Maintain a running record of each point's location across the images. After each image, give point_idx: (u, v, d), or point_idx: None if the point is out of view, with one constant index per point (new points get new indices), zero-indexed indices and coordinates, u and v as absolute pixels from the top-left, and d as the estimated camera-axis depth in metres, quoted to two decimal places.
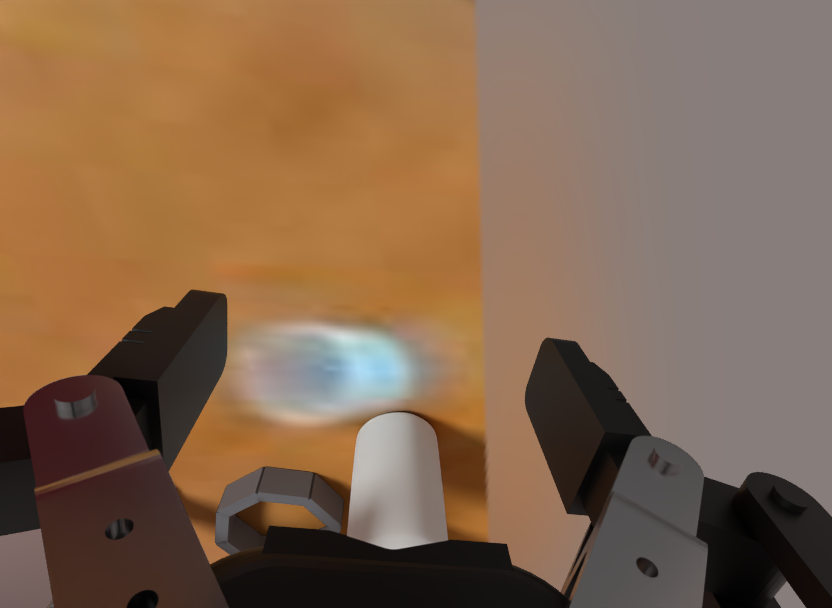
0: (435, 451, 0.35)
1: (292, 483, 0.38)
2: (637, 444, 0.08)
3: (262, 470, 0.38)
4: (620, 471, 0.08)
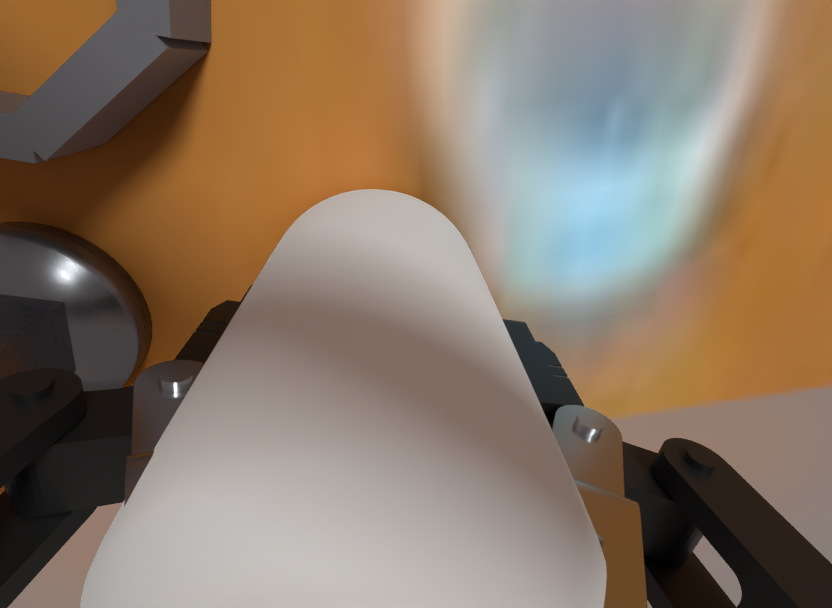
0: None
1: None
2: (560, 415, 0.09)
3: None
4: None
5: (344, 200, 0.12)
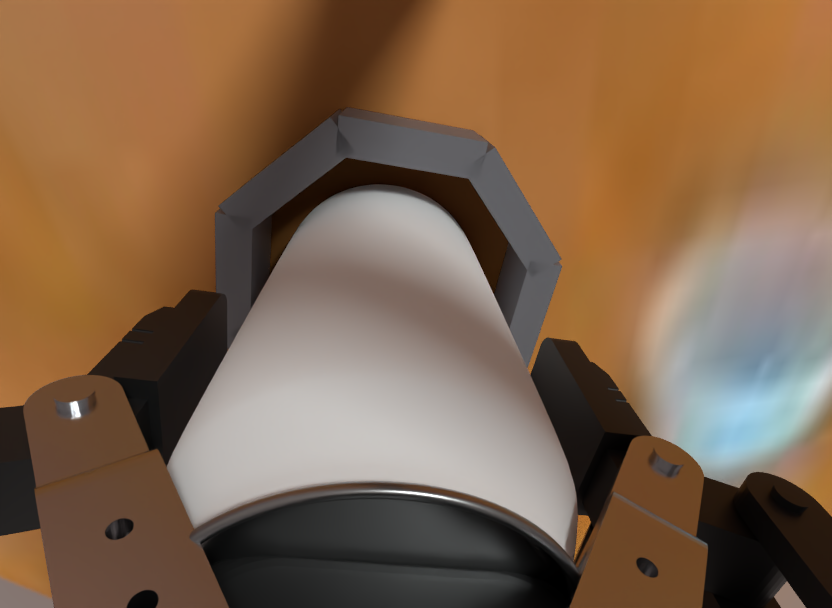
0: None
1: None
2: (636, 444, 0.08)
3: None
4: (620, 471, 0.08)
5: (353, 194, 0.14)
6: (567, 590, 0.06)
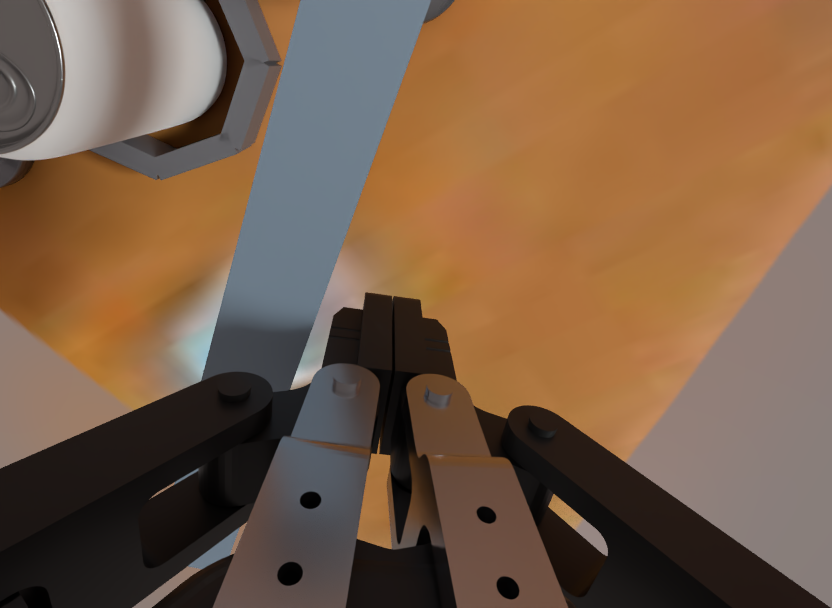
0: None
1: None
2: (412, 390, 0.09)
3: (251, 142, 0.24)
4: (413, 425, 0.08)
5: None
6: None
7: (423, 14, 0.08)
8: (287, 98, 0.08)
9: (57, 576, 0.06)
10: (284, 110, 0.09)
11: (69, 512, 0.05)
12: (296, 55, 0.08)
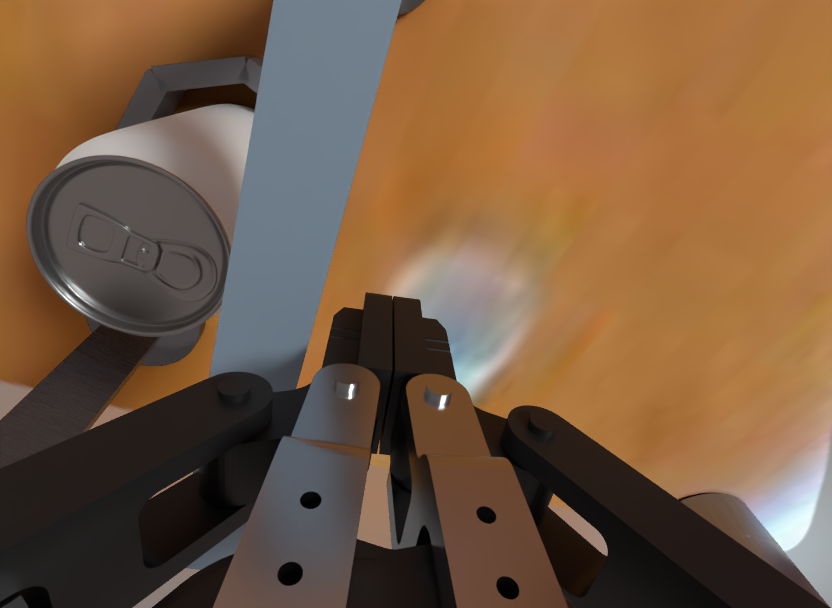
0: None
1: None
2: (411, 390, 0.09)
3: None
4: (413, 425, 0.08)
5: (240, 108, 0.22)
6: None
7: (399, 1, 0.08)
8: (269, 97, 0.08)
9: (57, 576, 0.06)
10: (267, 109, 0.09)
11: (69, 512, 0.05)
12: (274, 52, 0.08)
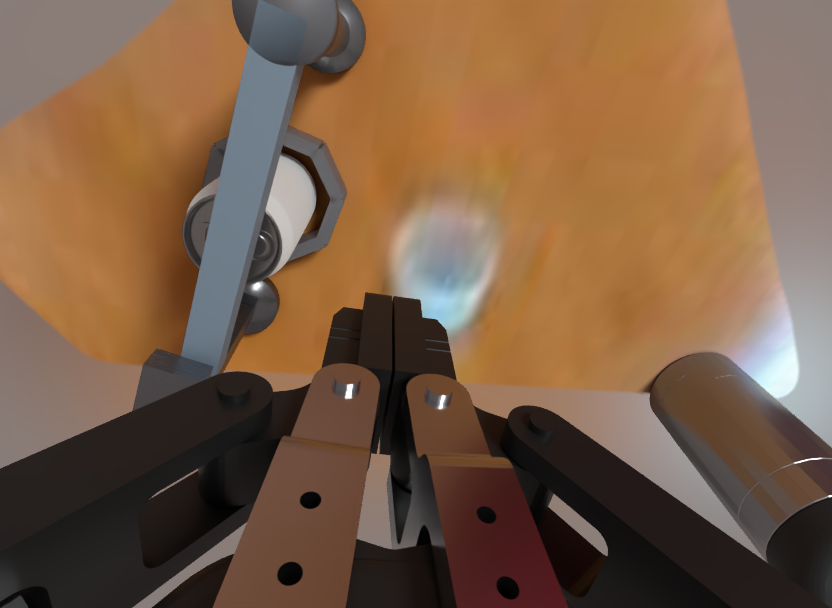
0: None
1: None
2: (412, 390, 0.09)
3: (345, 191, 0.38)
4: (413, 425, 0.08)
5: None
6: None
7: (286, 101, 0.20)
8: (234, 134, 0.21)
9: (57, 576, 0.06)
10: (233, 139, 0.21)
11: (69, 512, 0.05)
12: (236, 117, 0.20)
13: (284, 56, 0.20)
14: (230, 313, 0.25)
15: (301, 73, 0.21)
